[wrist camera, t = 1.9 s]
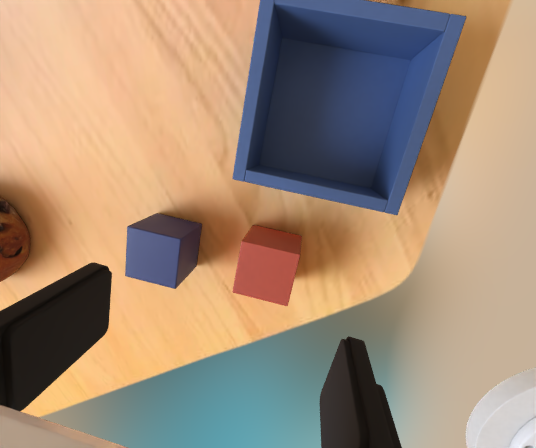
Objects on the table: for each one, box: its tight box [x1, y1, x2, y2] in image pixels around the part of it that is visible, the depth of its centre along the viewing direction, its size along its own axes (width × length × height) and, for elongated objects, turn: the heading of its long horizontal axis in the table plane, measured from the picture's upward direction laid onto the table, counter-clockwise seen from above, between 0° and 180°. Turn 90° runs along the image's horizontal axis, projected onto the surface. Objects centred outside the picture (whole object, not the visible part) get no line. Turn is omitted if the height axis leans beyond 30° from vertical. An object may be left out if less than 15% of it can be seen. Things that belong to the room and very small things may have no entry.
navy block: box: [125, 213, 202, 289], centre depth 24 cm, size 4×4×4 cm
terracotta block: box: [233, 225, 302, 306], centre depth 23 cm, size 4×4×4 cm
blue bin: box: [233, 0, 466, 215], centre depth 18 cm, size 11×11×6 cm
